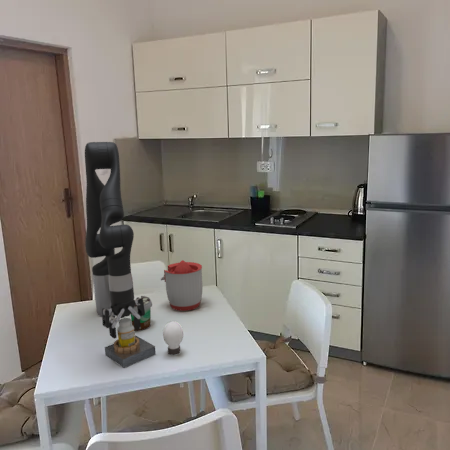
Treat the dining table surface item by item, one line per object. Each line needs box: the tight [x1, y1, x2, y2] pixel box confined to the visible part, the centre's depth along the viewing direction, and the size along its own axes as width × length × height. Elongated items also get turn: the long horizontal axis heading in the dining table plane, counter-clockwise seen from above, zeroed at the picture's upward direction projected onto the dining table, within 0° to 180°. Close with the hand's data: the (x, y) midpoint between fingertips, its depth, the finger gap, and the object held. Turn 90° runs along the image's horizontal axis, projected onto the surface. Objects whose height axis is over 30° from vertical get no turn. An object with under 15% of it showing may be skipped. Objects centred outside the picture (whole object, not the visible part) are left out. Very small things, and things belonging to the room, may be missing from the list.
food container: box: [130, 295, 153, 332], centre depth 177 cm, size 12×6×10 cm, turn 168°
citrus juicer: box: [160, 259, 203, 312], centre depth 194 cm, size 16×17×20 cm
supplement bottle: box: [116, 317, 135, 347], centre depth 154 cm, size 5×5×10 cm
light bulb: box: [162, 320, 184, 356], centre depth 155 cm, size 7×7×11 cm
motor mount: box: [104, 335, 157, 369], centre depth 156 cm, size 12×12×5 cm
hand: (125, 333), depth 154 cm, fingers open, 8 cm apart
